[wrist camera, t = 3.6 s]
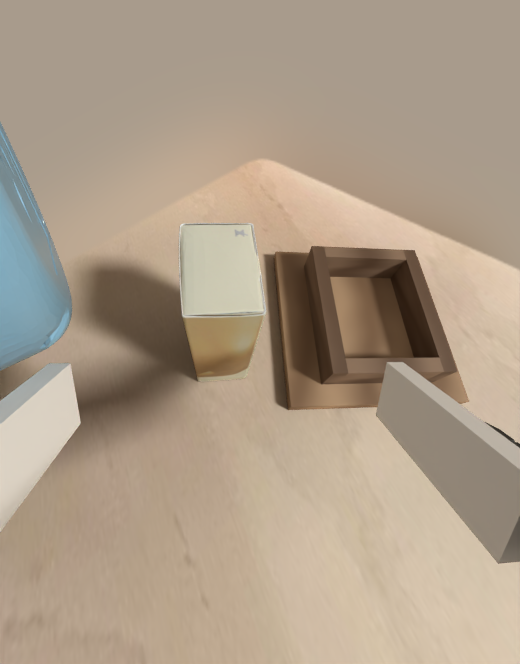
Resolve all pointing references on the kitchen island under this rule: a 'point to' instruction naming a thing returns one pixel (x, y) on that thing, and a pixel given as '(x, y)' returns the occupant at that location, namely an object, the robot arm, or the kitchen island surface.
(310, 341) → the walnut box stand
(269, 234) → the kitchen island surface
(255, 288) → the skincare box
